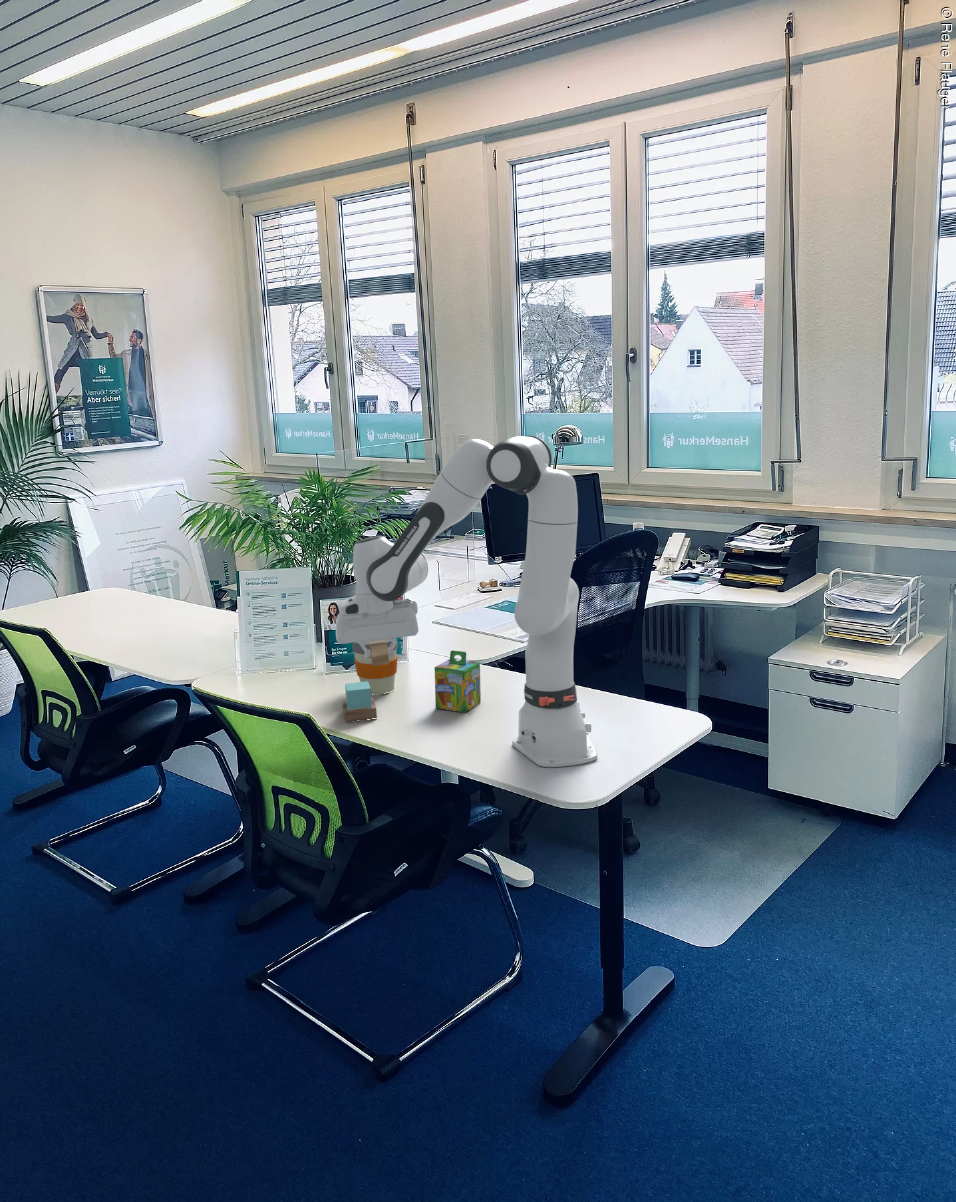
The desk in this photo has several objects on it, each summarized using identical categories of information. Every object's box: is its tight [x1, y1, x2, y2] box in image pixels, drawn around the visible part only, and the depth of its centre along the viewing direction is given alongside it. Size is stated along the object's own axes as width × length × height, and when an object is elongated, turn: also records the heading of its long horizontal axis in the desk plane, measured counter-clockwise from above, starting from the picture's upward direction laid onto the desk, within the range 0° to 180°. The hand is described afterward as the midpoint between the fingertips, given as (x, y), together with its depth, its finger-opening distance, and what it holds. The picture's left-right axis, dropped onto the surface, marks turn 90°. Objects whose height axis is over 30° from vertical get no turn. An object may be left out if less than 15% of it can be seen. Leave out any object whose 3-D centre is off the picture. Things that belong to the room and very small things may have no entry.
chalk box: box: [434, 650, 482, 713], centre depth 251 cm, size 9×9×15 cm
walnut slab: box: [341, 697, 378, 723], centre depth 248 cm, size 8×8×3 cm
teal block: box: [344, 681, 372, 710], centre depth 247 cm, size 6×6×5 cm
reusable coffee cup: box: [352, 638, 399, 696], centre depth 266 cm, size 13×13×15 cm
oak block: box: [369, 641, 389, 666], centre depth 238 cm, size 4×4×5 cm
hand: (379, 656), depth 238 cm, fingers closed on oak block, 4 cm apart
